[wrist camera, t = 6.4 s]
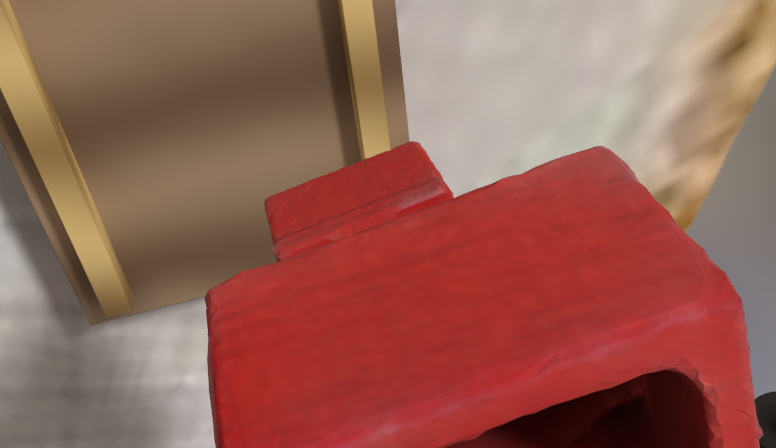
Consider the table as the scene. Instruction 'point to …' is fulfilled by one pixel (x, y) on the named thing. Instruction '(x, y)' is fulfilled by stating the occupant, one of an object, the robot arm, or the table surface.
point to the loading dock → (186, 129)
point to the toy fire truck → (479, 317)
